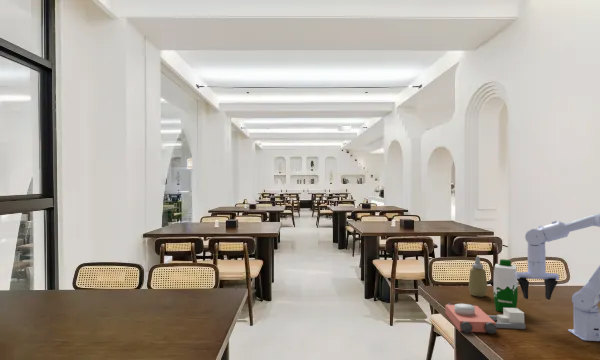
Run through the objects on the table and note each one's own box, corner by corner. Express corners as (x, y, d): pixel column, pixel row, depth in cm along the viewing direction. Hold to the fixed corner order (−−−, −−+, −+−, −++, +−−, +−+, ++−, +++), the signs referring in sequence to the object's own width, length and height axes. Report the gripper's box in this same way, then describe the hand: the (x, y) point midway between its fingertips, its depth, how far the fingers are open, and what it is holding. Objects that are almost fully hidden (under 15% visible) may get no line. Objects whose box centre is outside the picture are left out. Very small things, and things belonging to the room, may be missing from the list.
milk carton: (517, 308, 167) (517, 260, 168) (517, 314, 159) (517, 263, 160) (494, 305, 171) (493, 258, 172) (493, 311, 163) (493, 261, 164)
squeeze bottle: (464, 294, 190) (464, 255, 190) (477, 292, 193) (476, 254, 193) (478, 298, 182) (478, 258, 183) (491, 296, 186) (491, 257, 186)
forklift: (534, 335, 136) (534, 318, 136) (460, 332, 139) (460, 315, 139) (507, 314, 159) (507, 299, 159) (444, 312, 162) (444, 297, 162)
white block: (524, 327, 145) (524, 313, 145) (502, 326, 145) (502, 312, 146) (517, 321, 151) (517, 308, 151) (495, 320, 151) (495, 307, 152)
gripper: (552, 260, 151) (552, 296, 151) (511, 259, 153) (511, 295, 153) (561, 263, 144) (562, 301, 144) (519, 262, 146) (519, 300, 146)
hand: (536, 298), depth 148 cm, fingers open, 7 cm apart
